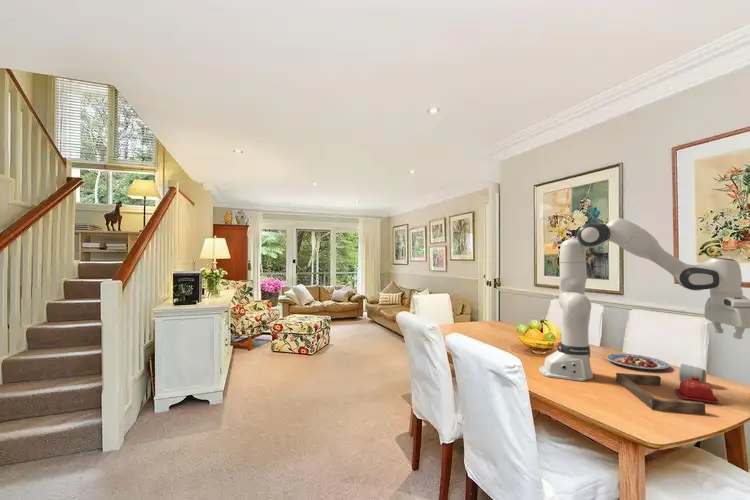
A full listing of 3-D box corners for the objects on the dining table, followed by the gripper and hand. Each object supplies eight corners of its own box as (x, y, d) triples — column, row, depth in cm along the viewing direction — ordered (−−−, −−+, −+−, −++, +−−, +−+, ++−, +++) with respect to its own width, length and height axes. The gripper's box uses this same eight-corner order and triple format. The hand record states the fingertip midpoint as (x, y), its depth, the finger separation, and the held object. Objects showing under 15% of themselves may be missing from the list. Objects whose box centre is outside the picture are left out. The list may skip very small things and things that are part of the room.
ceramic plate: (620, 355, 195) (620, 349, 195) (678, 367, 173) (678, 361, 173) (596, 362, 181) (596, 356, 182) (655, 376, 159) (655, 370, 159)
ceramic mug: (704, 388, 145) (704, 369, 145) (679, 383, 151) (678, 365, 151) (707, 382, 152) (707, 364, 152) (682, 377, 158) (682, 360, 158)
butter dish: (672, 390, 143) (672, 370, 143) (710, 395, 137) (709, 374, 138) (681, 400, 133) (680, 378, 133) (721, 406, 127) (721, 383, 128)
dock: (652, 409, 125) (652, 399, 125) (616, 380, 154) (616, 372, 154) (705, 414, 121) (705, 404, 121) (658, 383, 150) (658, 375, 150)
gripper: (698, 296, 144) (700, 329, 143) (736, 302, 124) (738, 341, 123) (716, 296, 142) (718, 330, 142) (758, 302, 122) (760, 342, 122)
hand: (728, 335), depth 132 cm, fingers open, 8 cm apart
